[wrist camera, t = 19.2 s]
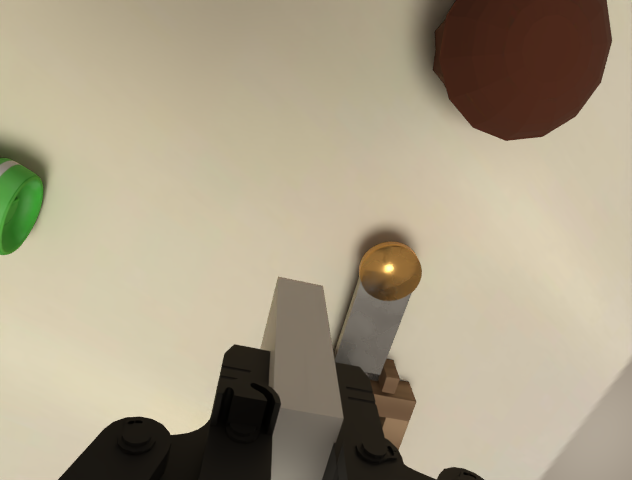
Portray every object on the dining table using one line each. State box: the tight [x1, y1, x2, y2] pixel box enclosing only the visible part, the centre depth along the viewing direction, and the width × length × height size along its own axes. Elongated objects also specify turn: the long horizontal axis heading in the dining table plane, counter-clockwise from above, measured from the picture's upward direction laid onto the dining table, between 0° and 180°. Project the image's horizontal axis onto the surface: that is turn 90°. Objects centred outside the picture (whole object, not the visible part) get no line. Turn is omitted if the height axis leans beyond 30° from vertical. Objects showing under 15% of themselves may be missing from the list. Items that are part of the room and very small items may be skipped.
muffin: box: [433, 0, 612, 141], centre depth 35 cm, size 12×11×10 cm
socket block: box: [370, 359, 416, 450], centre depth 49 cm, size 14×12×3 cm
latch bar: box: [334, 242, 422, 381], centre depth 44 cm, size 14×5×1 cm, turn 166°
